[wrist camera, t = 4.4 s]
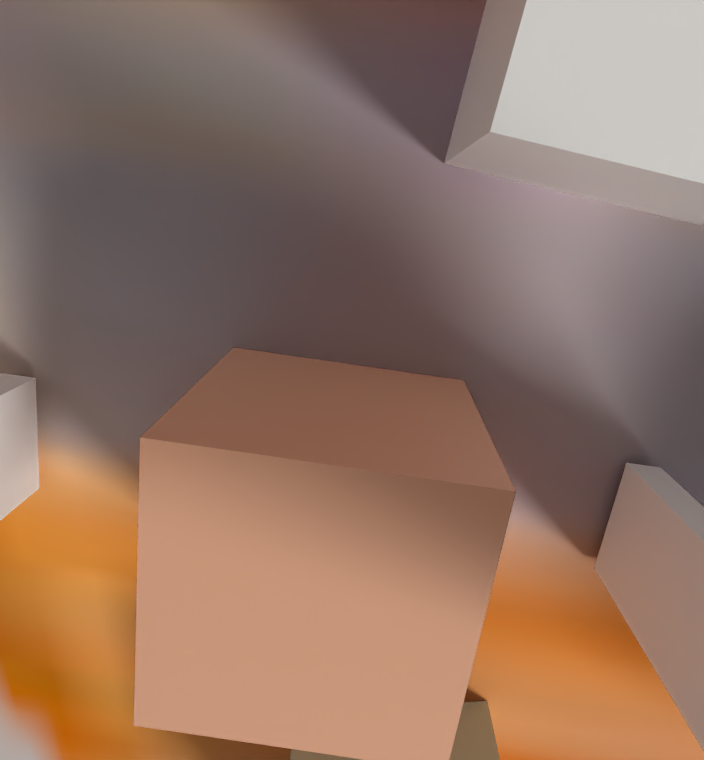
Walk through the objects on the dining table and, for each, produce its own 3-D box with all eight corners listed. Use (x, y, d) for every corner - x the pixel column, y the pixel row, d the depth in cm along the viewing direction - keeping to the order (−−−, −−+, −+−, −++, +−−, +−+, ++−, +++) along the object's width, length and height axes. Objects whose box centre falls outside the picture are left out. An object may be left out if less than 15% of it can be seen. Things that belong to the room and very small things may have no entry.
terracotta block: (234, 346, 12) (139, 437, 7) (463, 379, 12) (515, 491, 7) (219, 544, 14) (133, 725, 9) (423, 574, 14) (446, 772, 9)
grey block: (524, -148, 9) (668, -510, 5) (812, -76, 10) (1244, -359, 5) (443, 163, 11) (490, 131, 6) (692, 224, 11) (928, 237, 6)
